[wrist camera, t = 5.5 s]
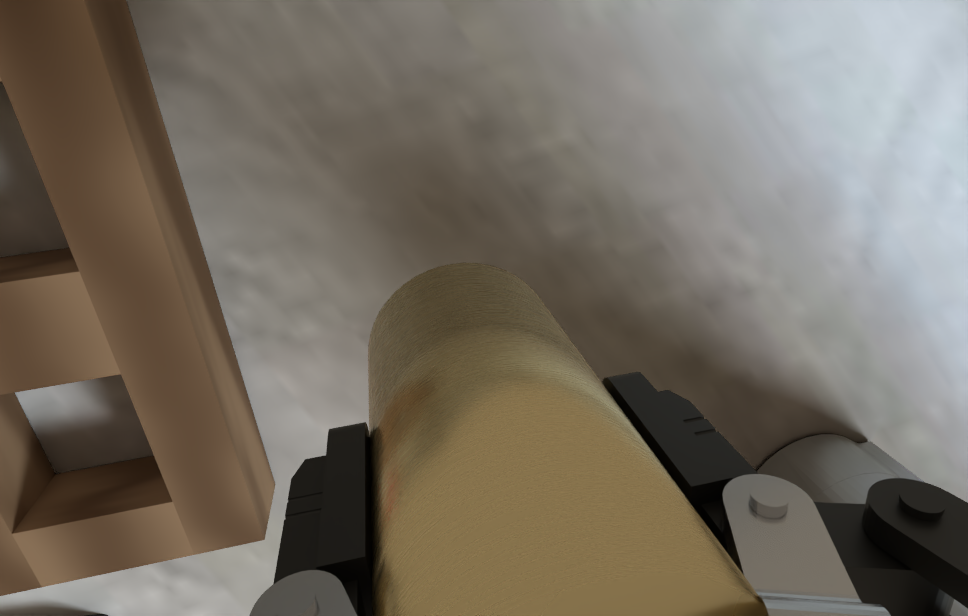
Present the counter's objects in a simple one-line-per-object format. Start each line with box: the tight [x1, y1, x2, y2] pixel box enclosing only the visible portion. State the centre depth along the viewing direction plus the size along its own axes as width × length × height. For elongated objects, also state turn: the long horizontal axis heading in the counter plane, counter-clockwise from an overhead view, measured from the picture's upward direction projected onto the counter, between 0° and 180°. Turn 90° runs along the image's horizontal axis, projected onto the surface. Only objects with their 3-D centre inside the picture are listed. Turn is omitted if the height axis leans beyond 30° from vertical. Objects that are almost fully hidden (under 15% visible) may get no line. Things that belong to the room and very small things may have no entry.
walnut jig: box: [0, 0, 275, 596], centre depth 24 cm, size 13×24×4 cm, turn 5°
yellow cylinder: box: [368, 263, 763, 616], centre depth 11 cm, size 5×5×10 cm
